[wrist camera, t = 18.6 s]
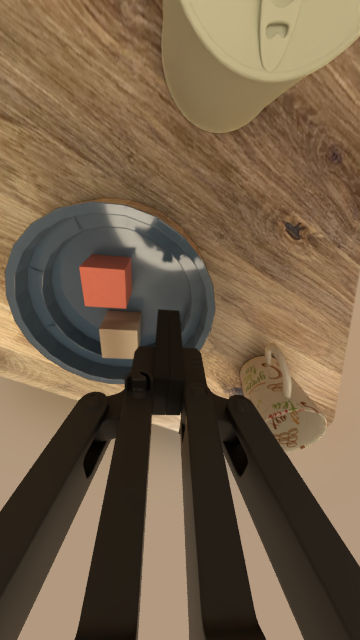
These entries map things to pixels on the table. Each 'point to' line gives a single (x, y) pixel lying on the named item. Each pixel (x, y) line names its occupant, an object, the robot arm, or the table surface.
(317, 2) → the can
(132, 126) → the table surface
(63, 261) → the bowl
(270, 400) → the mug
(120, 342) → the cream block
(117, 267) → the coral block
